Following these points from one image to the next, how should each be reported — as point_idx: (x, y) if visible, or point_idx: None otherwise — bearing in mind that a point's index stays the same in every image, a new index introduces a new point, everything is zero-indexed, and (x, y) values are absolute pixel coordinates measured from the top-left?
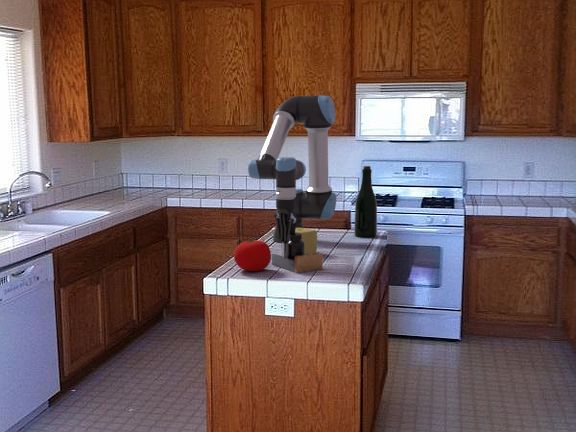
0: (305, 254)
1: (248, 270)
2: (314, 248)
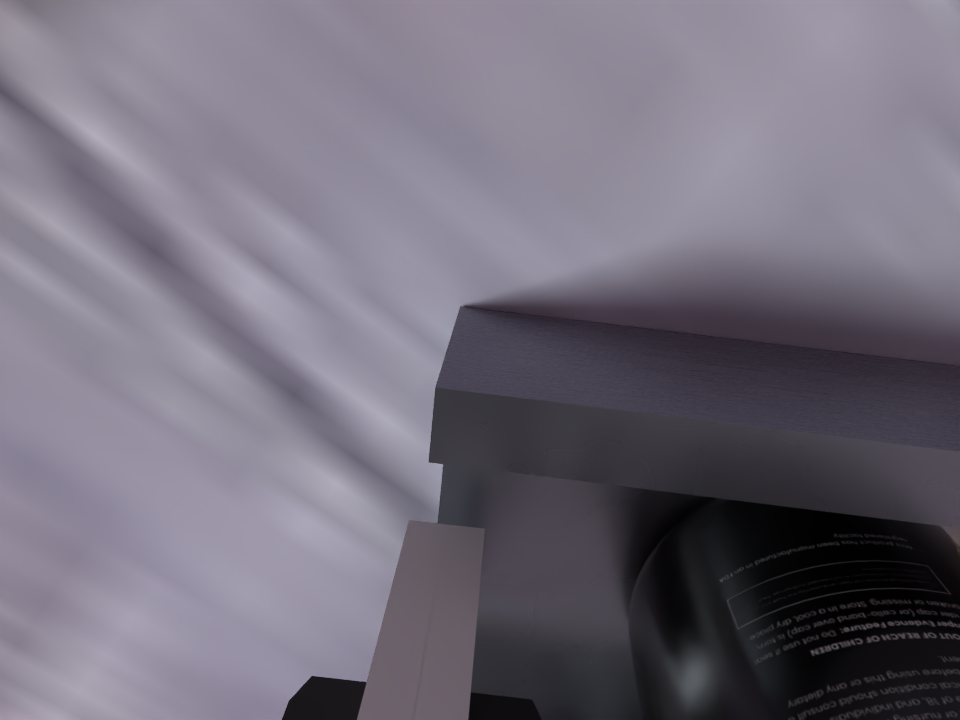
0: (931, 507)
1: None
2: None
